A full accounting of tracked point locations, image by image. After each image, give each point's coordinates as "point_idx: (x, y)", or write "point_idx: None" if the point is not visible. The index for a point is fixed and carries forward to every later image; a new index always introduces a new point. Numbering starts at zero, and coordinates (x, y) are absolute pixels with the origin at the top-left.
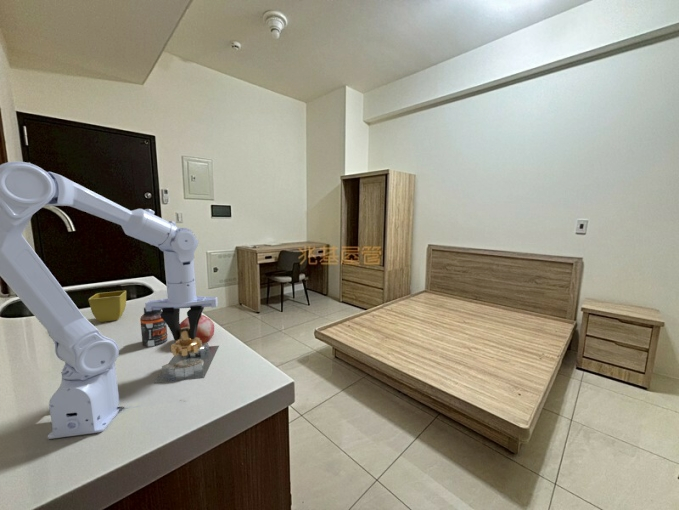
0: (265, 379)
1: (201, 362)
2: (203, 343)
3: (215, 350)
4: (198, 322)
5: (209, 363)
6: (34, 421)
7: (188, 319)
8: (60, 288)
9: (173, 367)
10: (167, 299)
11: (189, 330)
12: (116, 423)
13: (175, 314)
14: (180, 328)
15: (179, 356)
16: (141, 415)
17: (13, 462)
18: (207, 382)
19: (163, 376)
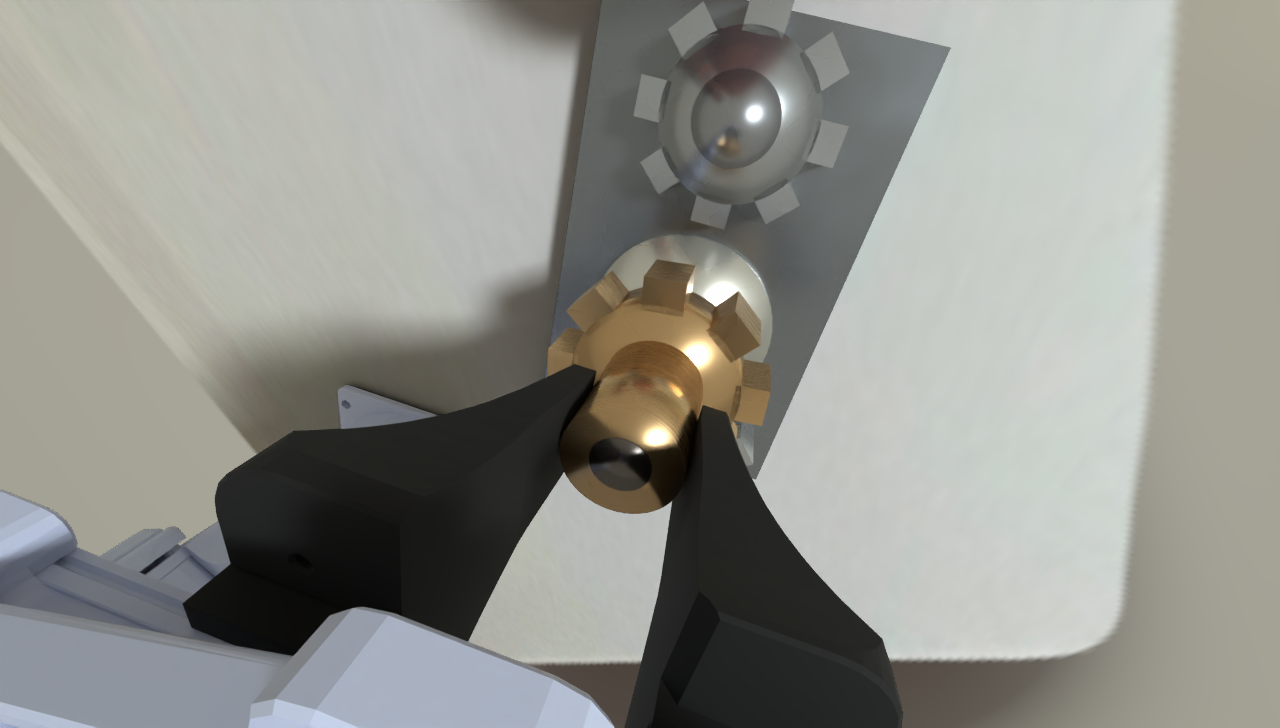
0: (1031, 586)
1: (750, 462)
2: (809, 60)
3: (888, 156)
4: (756, 492)
5: (804, 351)
6: (263, 406)
7: (633, 693)
8: None
9: None
10: (19, 694)
11: (662, 505)
12: None
13: (451, 615)
14: (573, 425)
15: (622, 141)
16: (551, 536)
17: None
18: (768, 472)
19: None
